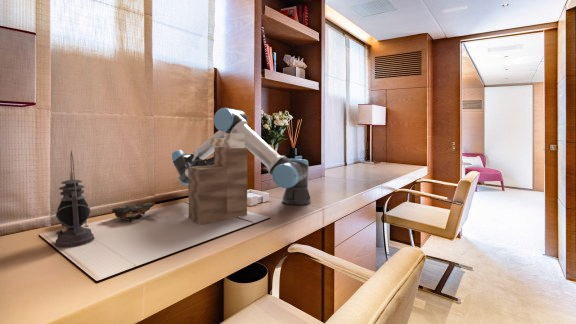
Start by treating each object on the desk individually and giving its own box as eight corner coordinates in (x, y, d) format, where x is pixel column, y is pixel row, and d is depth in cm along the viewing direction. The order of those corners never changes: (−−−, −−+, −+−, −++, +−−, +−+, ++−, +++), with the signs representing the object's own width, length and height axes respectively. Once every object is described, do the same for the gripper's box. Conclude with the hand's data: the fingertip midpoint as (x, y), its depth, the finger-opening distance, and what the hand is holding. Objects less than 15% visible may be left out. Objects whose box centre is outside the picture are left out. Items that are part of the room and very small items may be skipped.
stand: (188, 218, 126) (187, 147, 123) (234, 210, 140) (234, 146, 137) (200, 224, 118) (199, 149, 115) (247, 215, 132) (247, 147, 129)
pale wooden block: (207, 145, 139) (207, 132, 139) (220, 145, 144) (220, 133, 143) (230, 148, 124) (230, 133, 123) (244, 147, 128) (244, 134, 128)
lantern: (53, 239, 99) (47, 149, 96) (90, 232, 106) (86, 149, 103) (56, 251, 90) (50, 152, 87) (97, 243, 97) (93, 151, 94)
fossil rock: (136, 224, 116) (136, 210, 115) (106, 222, 119) (106, 207, 118) (159, 215, 129) (159, 202, 129) (131, 213, 132) (131, 200, 132)
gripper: (217, 173, 166) (234, 157, 152) (172, 177, 150) (186, 160, 135) (214, 161, 169) (230, 144, 154) (169, 164, 152) (183, 145, 137)
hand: (210, 151), depth 144 cm, fingers open, 13 cm apart
